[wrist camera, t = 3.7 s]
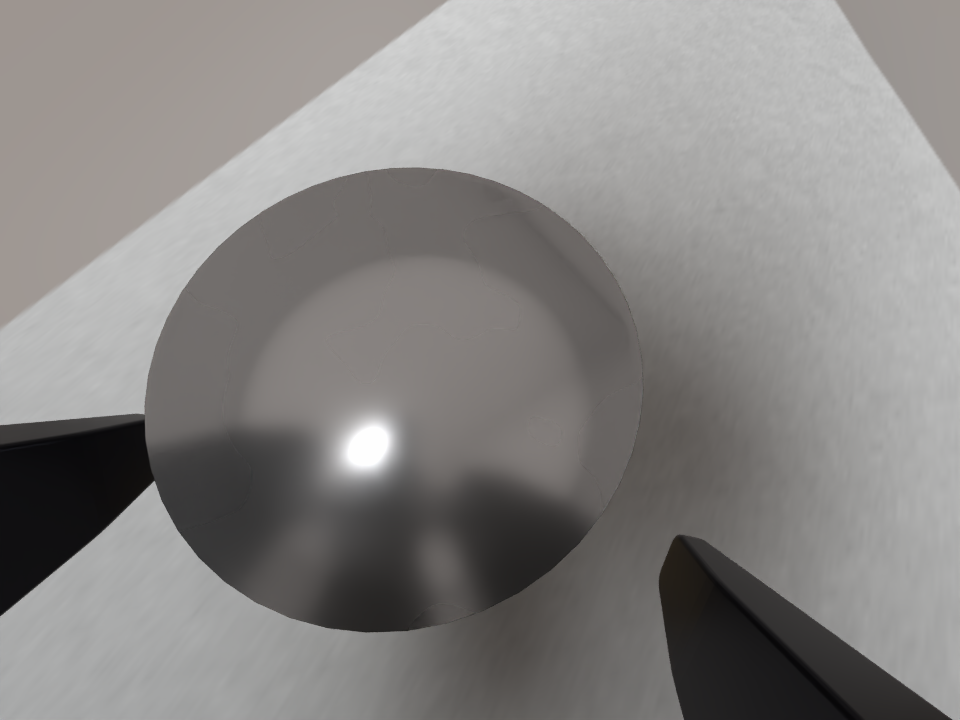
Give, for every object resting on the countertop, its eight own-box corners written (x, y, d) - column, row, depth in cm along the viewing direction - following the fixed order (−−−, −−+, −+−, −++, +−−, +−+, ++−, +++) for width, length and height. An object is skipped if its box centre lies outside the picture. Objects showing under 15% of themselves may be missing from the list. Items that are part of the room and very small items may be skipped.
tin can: (463, 616, 16) (413, 790, 4) (343, 504, 17) (42, 385, 5) (562, 482, 18) (732, 322, 6) (446, 390, 19) (389, 108, 7)
